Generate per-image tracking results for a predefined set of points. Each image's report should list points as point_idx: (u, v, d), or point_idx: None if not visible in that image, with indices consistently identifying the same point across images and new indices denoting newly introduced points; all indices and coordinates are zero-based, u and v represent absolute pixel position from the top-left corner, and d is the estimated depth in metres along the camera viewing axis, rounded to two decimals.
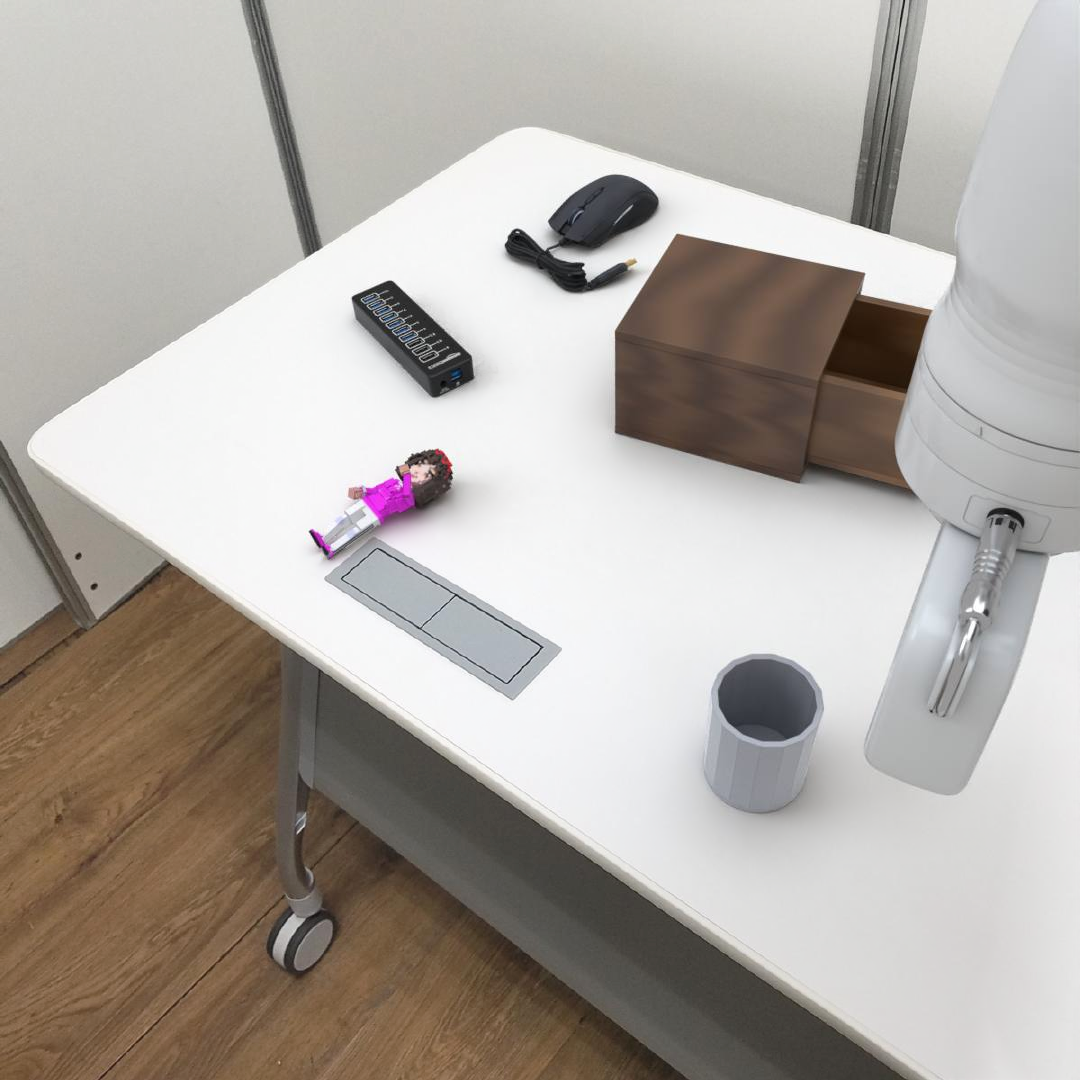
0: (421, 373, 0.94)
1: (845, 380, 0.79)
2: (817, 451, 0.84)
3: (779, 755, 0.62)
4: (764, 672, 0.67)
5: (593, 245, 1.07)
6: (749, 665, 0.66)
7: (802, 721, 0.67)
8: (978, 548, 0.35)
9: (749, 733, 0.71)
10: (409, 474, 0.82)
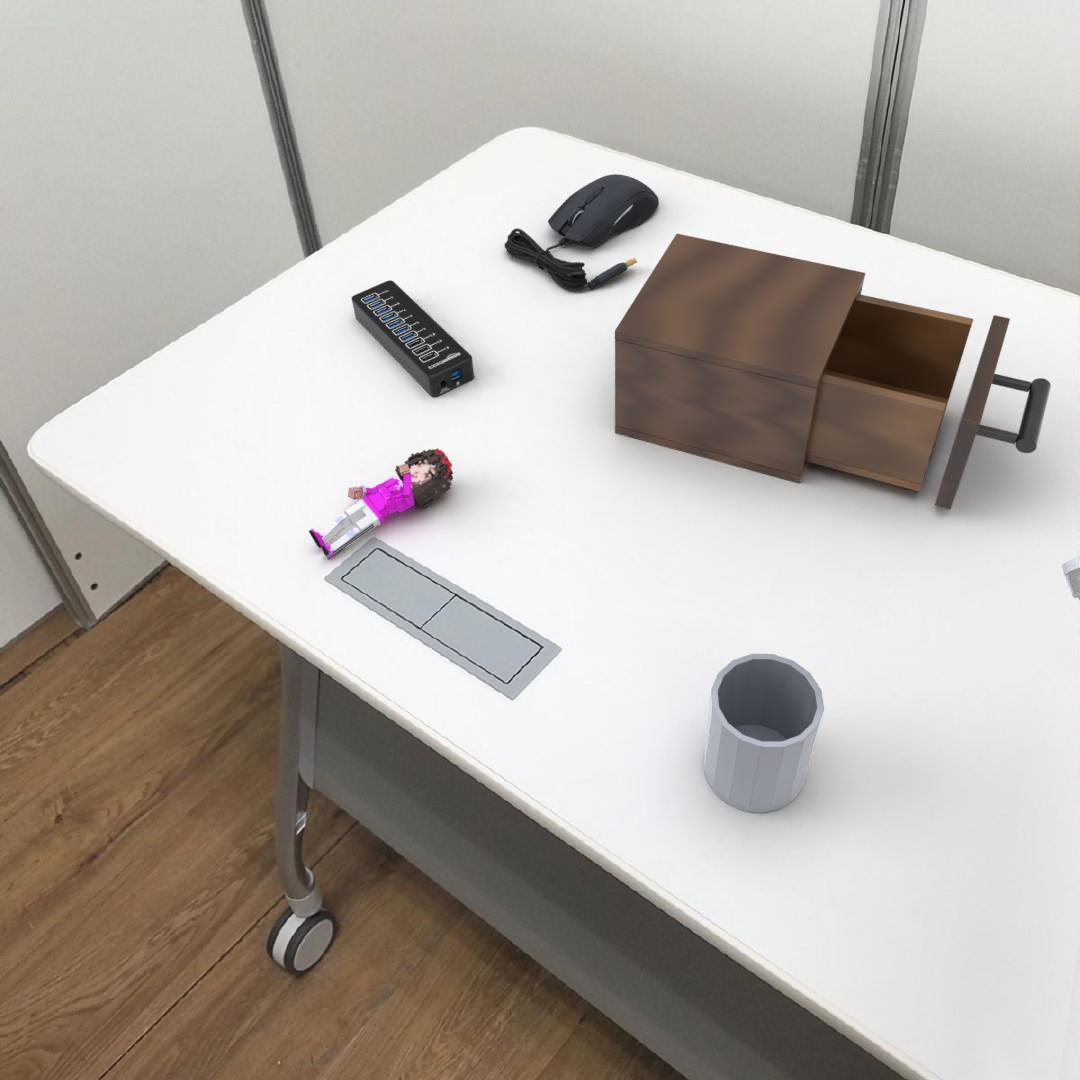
0: (421, 373, 0.94)
1: (845, 380, 0.79)
2: (817, 451, 0.84)
3: (779, 755, 0.62)
4: (764, 672, 0.67)
5: (593, 245, 1.07)
6: (749, 665, 0.66)
7: (802, 721, 0.67)
8: None
9: (749, 733, 0.71)
10: (409, 474, 0.82)
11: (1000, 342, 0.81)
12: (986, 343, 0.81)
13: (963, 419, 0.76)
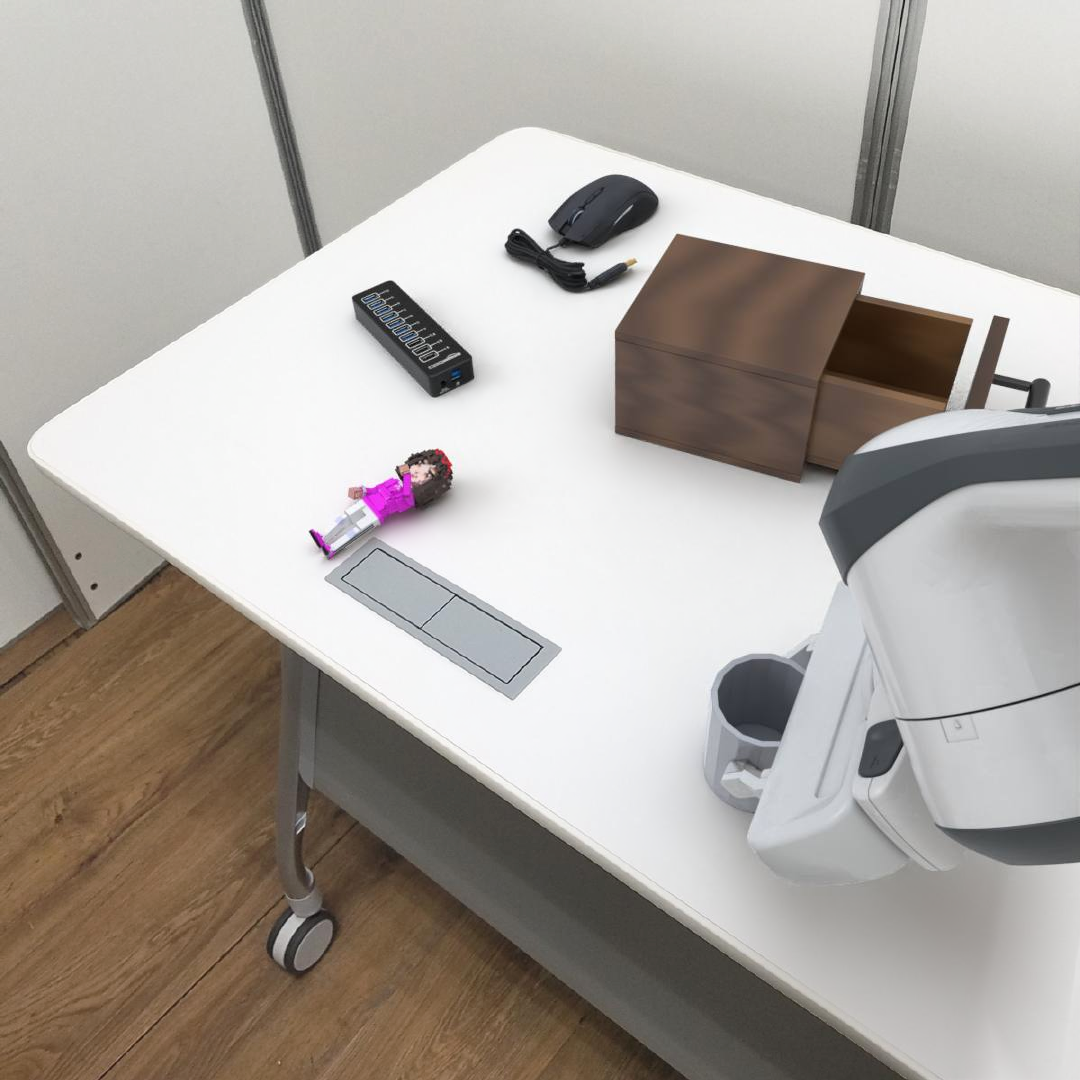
0: (421, 373, 0.94)
1: (845, 380, 0.79)
2: (817, 451, 0.84)
3: None
4: (764, 672, 0.67)
5: (593, 245, 1.07)
6: (749, 665, 0.66)
7: None
8: None
9: (749, 733, 0.71)
10: (409, 474, 0.82)
11: (1000, 342, 0.81)
12: (986, 343, 0.81)
13: None
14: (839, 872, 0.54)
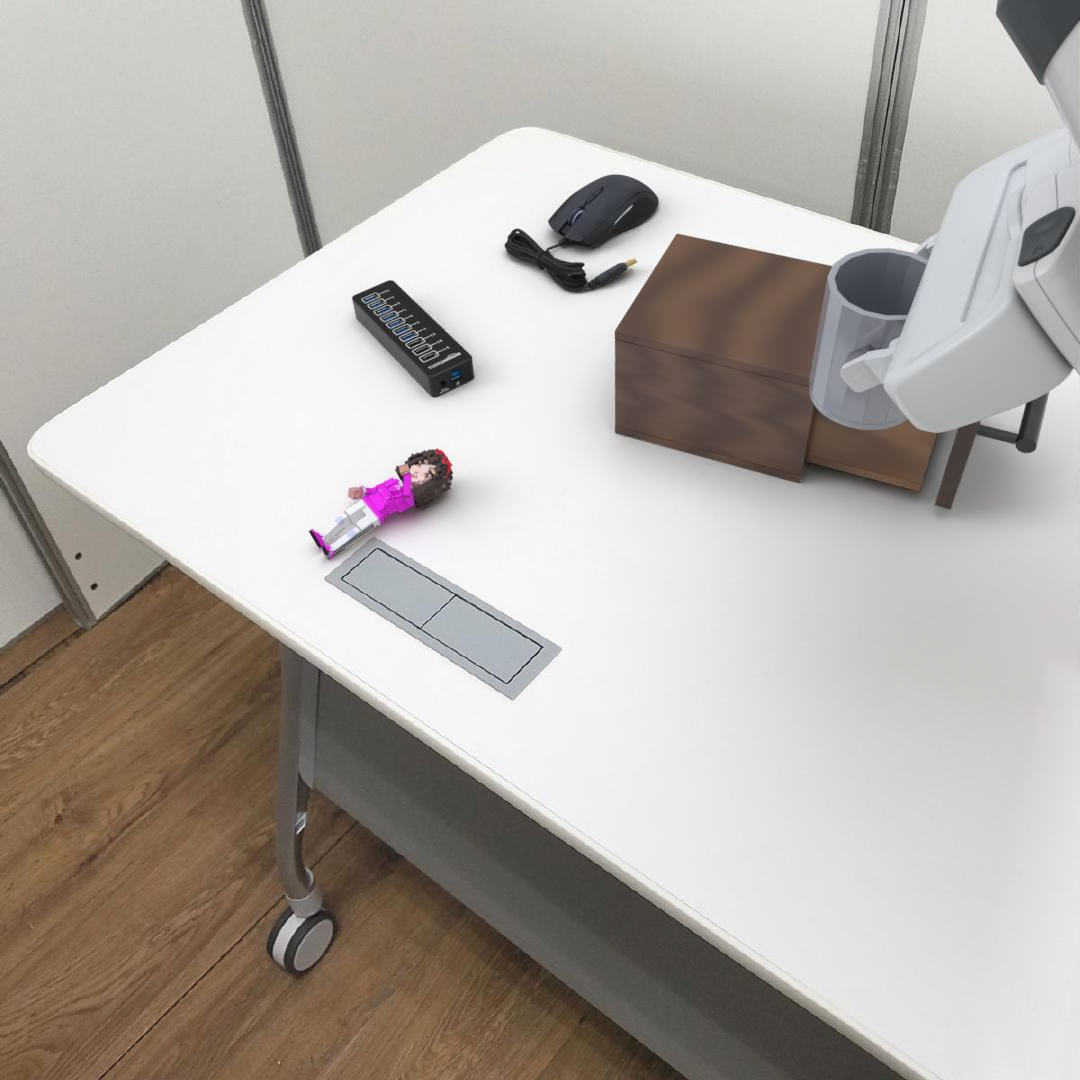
0: (421, 372, 0.94)
1: None
2: (817, 451, 0.84)
3: None
4: (879, 273, 0.62)
5: (593, 245, 1.07)
6: (865, 262, 0.62)
7: None
8: None
9: None
10: (409, 474, 0.82)
11: None
12: None
13: None
14: (991, 395, 0.50)
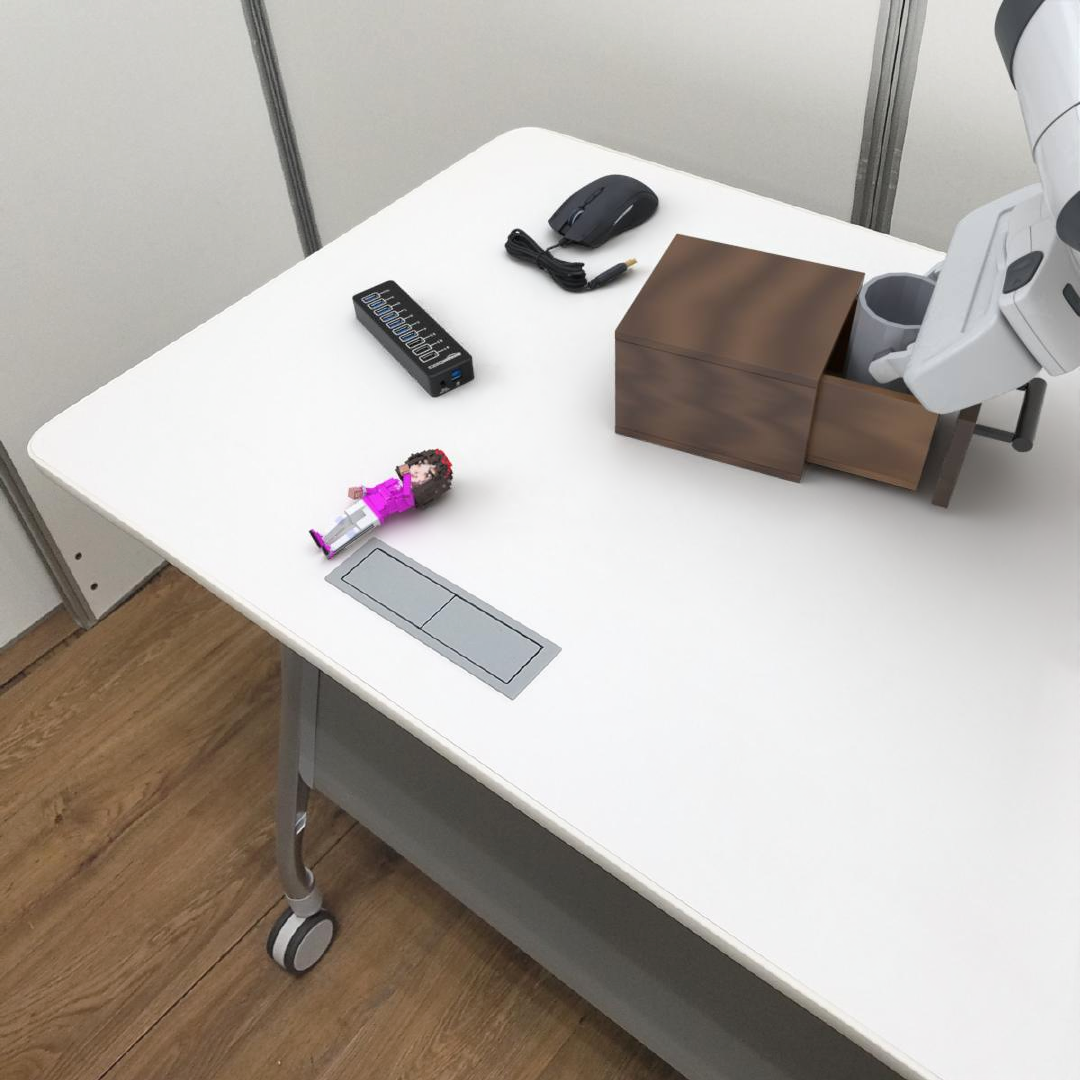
0: (421, 372, 0.94)
1: (842, 379, 0.79)
2: (814, 450, 0.84)
3: None
4: (898, 291, 0.81)
5: (593, 245, 1.07)
6: (887, 283, 0.80)
7: None
8: None
9: None
10: (409, 474, 0.82)
11: None
12: None
13: (959, 418, 0.76)
14: (983, 386, 0.69)
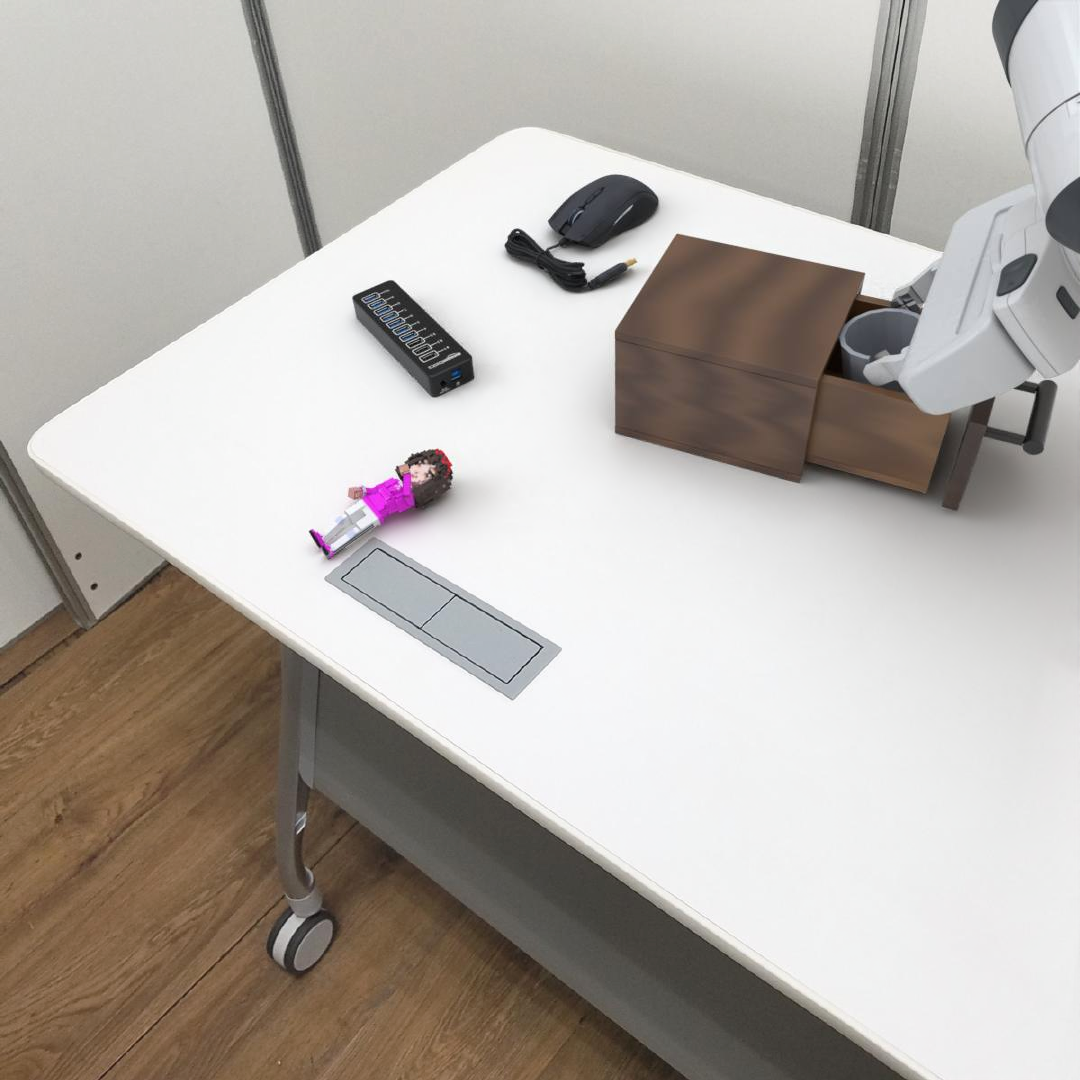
0: (421, 372, 0.94)
1: (852, 382, 0.79)
2: (823, 453, 0.84)
3: None
4: (882, 327, 0.84)
5: (593, 245, 1.07)
6: (868, 320, 0.83)
7: None
8: None
9: None
10: (409, 474, 0.82)
11: None
12: None
13: (970, 421, 0.75)
14: (976, 388, 0.69)
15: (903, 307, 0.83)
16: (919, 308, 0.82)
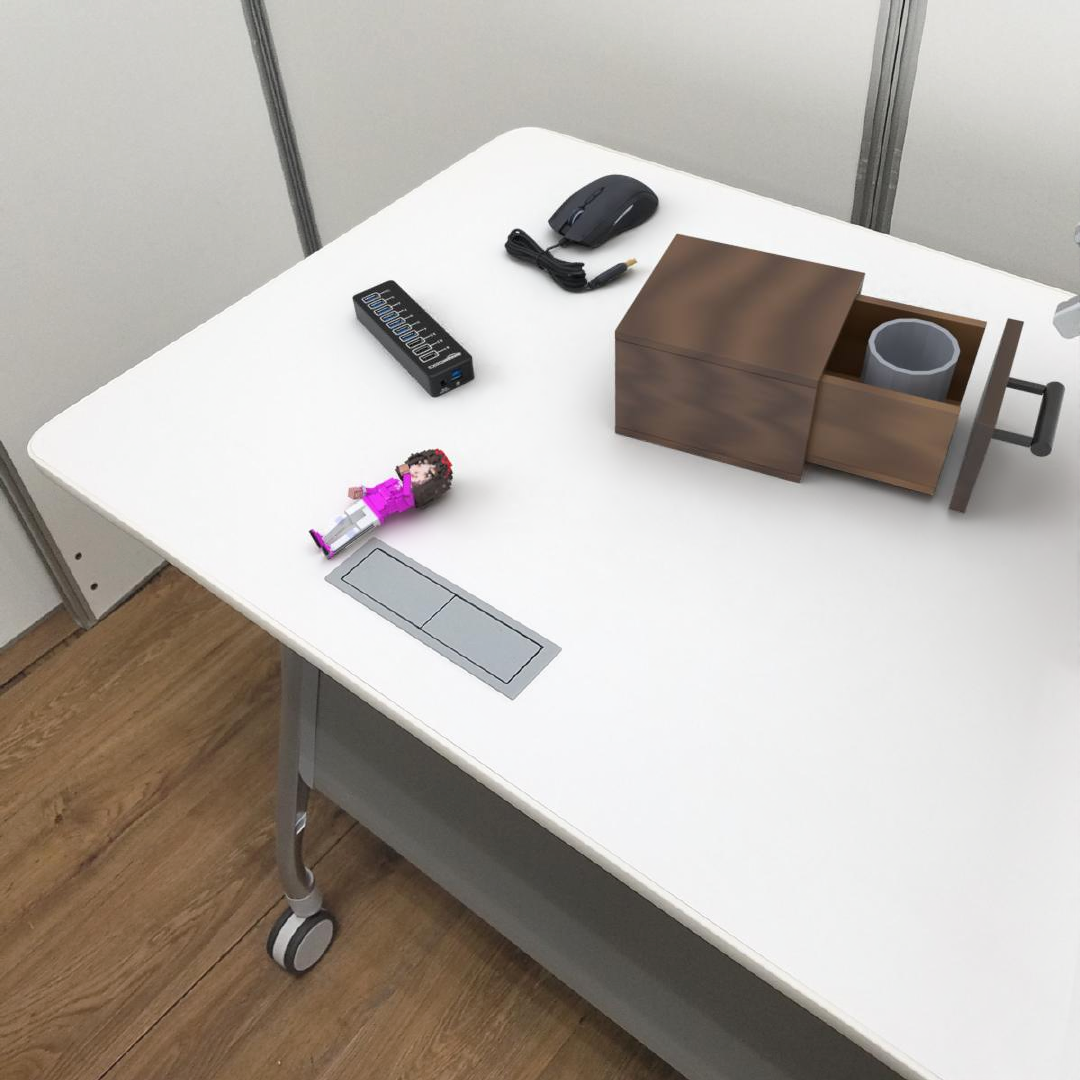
0: (421, 372, 0.94)
1: (859, 383, 0.79)
2: (830, 454, 0.84)
3: (925, 384, 0.79)
4: (907, 336, 0.83)
5: (593, 245, 1.07)
6: (896, 328, 0.83)
7: None
8: None
9: None
10: (409, 474, 0.82)
11: (1014, 345, 0.80)
12: (1000, 346, 0.80)
13: (978, 423, 0.75)
14: None
15: None
16: None
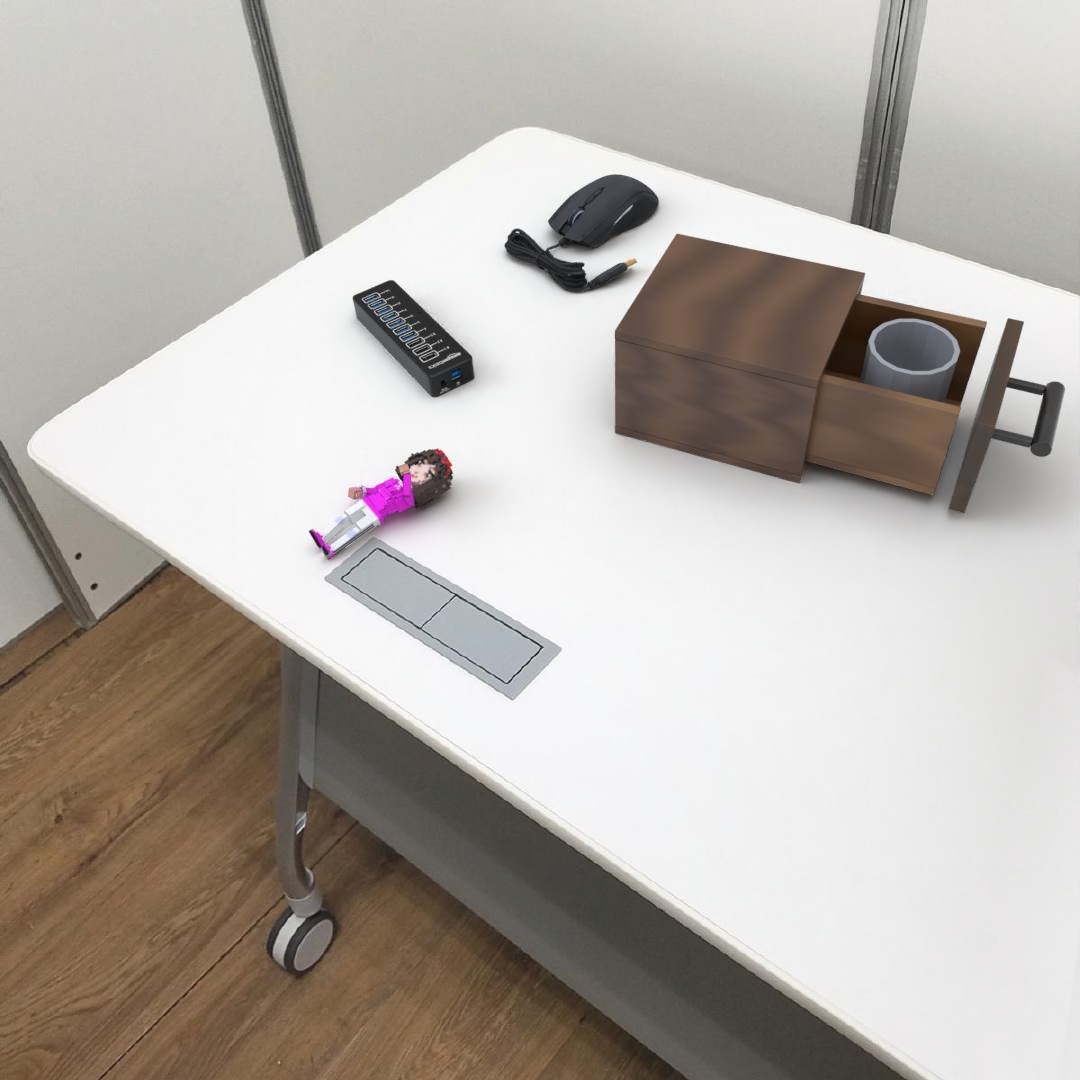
0: (421, 372, 0.94)
1: (859, 383, 0.79)
2: (830, 454, 0.84)
3: (925, 384, 0.79)
4: (907, 336, 0.83)
5: (593, 245, 1.07)
6: (896, 328, 0.83)
7: None
8: None
9: None
10: (409, 474, 0.82)
11: (1014, 345, 0.80)
12: (1000, 346, 0.80)
13: (978, 423, 0.75)
14: None
15: None
16: None
